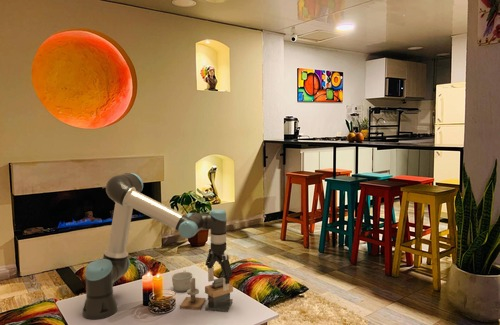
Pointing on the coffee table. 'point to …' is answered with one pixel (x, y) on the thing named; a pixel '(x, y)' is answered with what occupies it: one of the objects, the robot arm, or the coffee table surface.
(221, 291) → the brown wooden block
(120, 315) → the coffee table surface
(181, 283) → the teacup
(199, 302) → the stand
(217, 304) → the grey stepped block
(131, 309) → the coffee table surface
